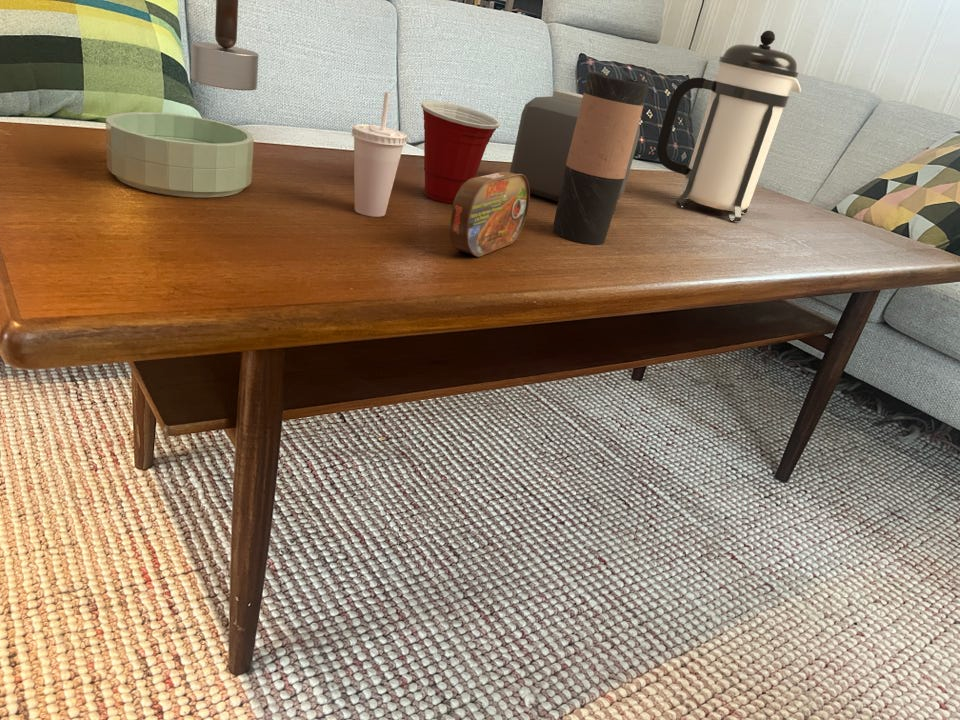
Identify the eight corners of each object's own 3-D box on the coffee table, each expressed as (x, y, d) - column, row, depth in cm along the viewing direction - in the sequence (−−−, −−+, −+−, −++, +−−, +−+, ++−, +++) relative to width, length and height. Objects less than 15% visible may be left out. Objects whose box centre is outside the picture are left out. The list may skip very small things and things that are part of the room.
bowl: (82, 181, 78) (79, 124, 75) (141, 155, 91) (140, 106, 89) (228, 208, 79) (230, 152, 76) (264, 178, 93) (267, 130, 90)
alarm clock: (619, 208, 118) (646, 108, 111) (597, 218, 108) (625, 110, 102) (529, 181, 123) (550, 85, 117) (500, 188, 114) (521, 84, 107)
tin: (463, 263, 77) (478, 184, 74) (438, 254, 78) (451, 176, 75) (523, 240, 90) (539, 172, 86) (501, 233, 91) (515, 165, 87)
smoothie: (358, 220, 84) (373, 94, 78) (334, 203, 88) (346, 83, 82) (406, 220, 88) (423, 99, 82) (380, 204, 92) (395, 88, 86)
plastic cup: (452, 213, 95) (468, 119, 90) (391, 190, 100) (404, 99, 95) (499, 206, 103) (517, 119, 98) (441, 185, 108) (455, 101, 103)
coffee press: (720, 202, 140) (776, 35, 128) (769, 227, 127) (837, 43, 114) (641, 191, 135) (691, 15, 122) (684, 216, 121) (745, 21, 109)
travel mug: (581, 247, 92) (625, 81, 84) (538, 227, 97) (575, 68, 88) (618, 243, 97) (662, 86, 89) (575, 225, 102) (613, 74, 93)
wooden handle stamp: (181, 80, 63) (183, -79, 58) (203, 75, 68) (206, -72, 63) (246, 93, 63) (254, -63, 58) (263, 86, 68) (272, -58, 63)
